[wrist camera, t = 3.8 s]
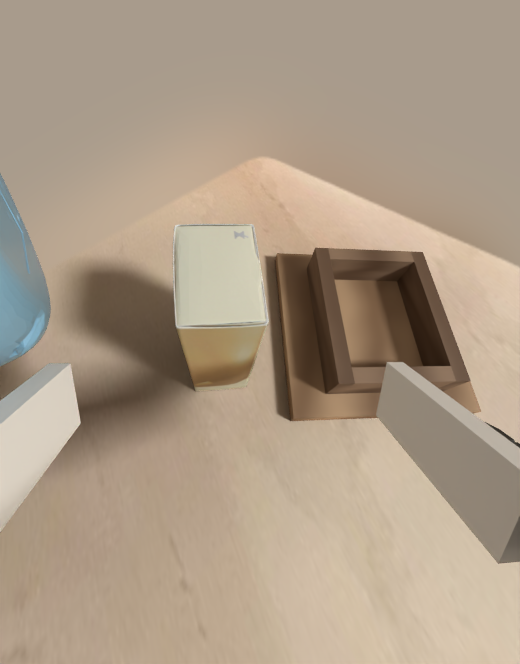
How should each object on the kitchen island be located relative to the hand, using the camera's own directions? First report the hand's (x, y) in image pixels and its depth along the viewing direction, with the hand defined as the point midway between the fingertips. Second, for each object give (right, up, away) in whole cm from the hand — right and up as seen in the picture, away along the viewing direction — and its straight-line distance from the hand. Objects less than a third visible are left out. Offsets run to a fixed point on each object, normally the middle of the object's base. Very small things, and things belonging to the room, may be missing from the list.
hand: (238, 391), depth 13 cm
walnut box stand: (+11, +3, +16) cm, 19 cm away
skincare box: (-3, 0, +13) cm, 13 cm away
